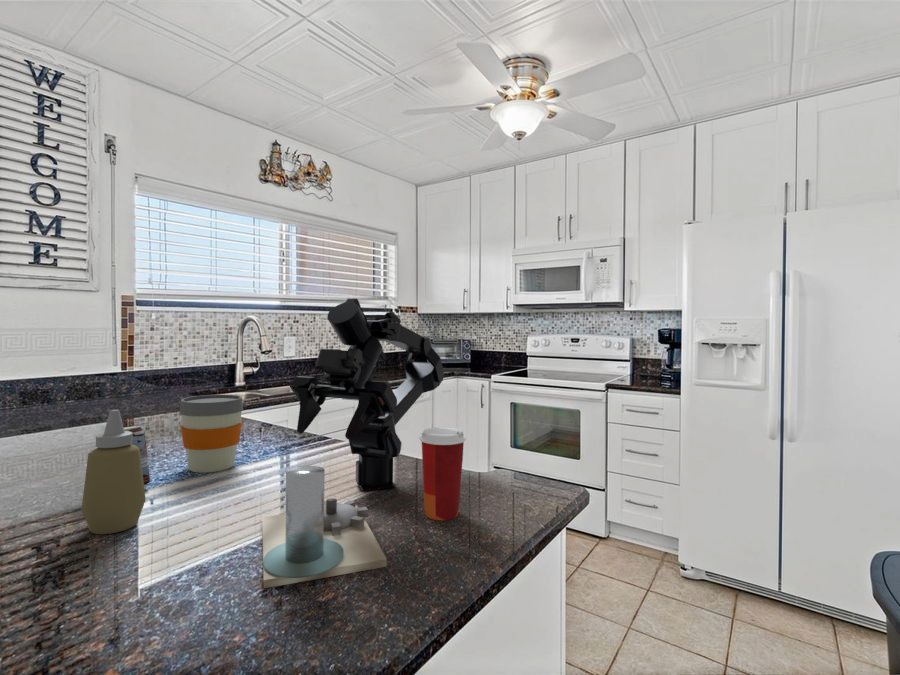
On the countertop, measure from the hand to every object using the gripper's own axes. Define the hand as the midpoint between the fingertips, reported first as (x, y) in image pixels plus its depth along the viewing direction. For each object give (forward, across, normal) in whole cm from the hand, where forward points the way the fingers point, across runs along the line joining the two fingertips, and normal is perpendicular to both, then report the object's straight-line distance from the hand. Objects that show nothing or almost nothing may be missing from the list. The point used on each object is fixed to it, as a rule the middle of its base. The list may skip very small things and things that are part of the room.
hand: (322, 435), depth 77 cm
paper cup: (+3, +17, +16) cm, 24 cm away
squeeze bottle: (+20, -27, -1) cm, 34 cm away
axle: (+18, +7, -1) cm, 20 cm away
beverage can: (+12, -41, +8) cm, 43 cm away
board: (+15, +5, +4) cm, 16 cm away
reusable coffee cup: (-1, -39, +20) cm, 44 cm away
